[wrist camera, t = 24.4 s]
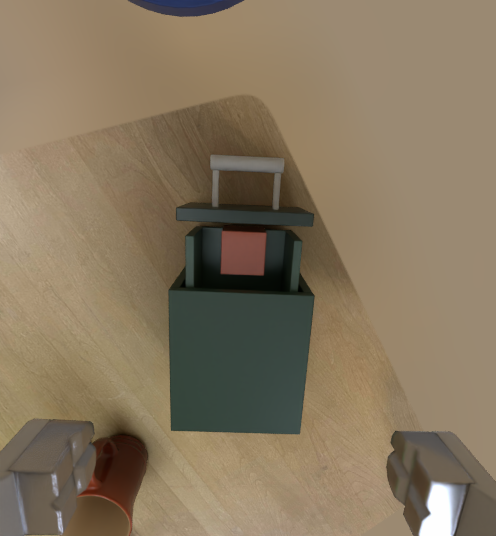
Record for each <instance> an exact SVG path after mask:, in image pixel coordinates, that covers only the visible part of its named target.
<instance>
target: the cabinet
mask: <svg viewBox="0 0 496 536" xmlns="http://www.w3.org/2000/svg"><path fill="white" fill-rule="evenodd" d="M168 293H169V349H170V405H171V431H200V432H235V433H270V434H300V429H301V419H302V410H303V400H304V391H305V382H306V372H307V363H308V353H309V344H310V334H311V325H312V315H313V306H314V294H313V293H312V291H311V290H310V288H309V286H308V285H307V283H306V282H305V280H304V278H303V277H302V275H301V274H300V273H299V284H298V292H278V291H253V290H228V289H203V288H186V266H185V267H184V269H183V270H182V272H181V273H180V275H179V276H178V277H177V279H176V280H175V282H174V283H173V284H172V286H171V287H170V289H169V290H168Z"/></svg>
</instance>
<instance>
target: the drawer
mask: <svg viewBox="0 0 496 536" xmlns="http://www.w3.org/2000/svg"><path fill="white" fill-rule="evenodd" d="M210 168H211V170H213V177H212V203H193V202H190V203H188V204H185V205H182V206H179V207H177V208H176V220H177V221H197V222H219V223H241V224H264V225H286V226H308V227H312V226H313V220H314V214H313V213H311V212H308V211H306V210H304V209H301V208H299V207H279V195H280V181H281V173H283V171H284V158H270V157H250V156H231V155H211V157H210ZM219 170H225V171H245V172H266V173H274V187H273V202H272V206H257V205H236V204H218V203H219ZM222 230H223V227H210V226H196V227H195V228H194V229H193V230H192V231H190V232H189V233H188V234H187V235H186V236H185V254H186V288H203V289H228V290H253V291H278V292H298V284H299V273H300V262H301V251H302V240H301V239H300V238H299V237H298V236H297V235H296V234H295V233H293V232H292V231H291V230H277V229H265V231H266V233H267V236H266V252H265V268H264V276H259V275H235V274H221V238H222Z"/></svg>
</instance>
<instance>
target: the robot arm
mask: <svg viewBox="0 0 496 536" xmlns="http://www.w3.org/2000/svg"><path fill="white" fill-rule="evenodd" d="M94 434H95V433H94V426H93V423H92V422H90V421H76V420H58V419H53V420H50V419H32V420H30V421H28V422H27V423H26V424H25V425H24V426H23V427H22V429H21V430H20V431H19V432H18V433H17V434H16V435H15V436H14V437H13V438H12V439H11V441H10V442H9V443H8V444H7V445H6V446H5V447H4V448H3V449H2V450H1V451H0V536H24V535H63V533H64V531H65V529H66V527H67V525H68V523H69V521H70V520H71V518H72V516H73V514H74V512H75V510H76V508H77V496H78V495H79V494H81V493H82V492H83V491H84V490H86V489H87V487H88V485H89V483H90V481H91V479H92V475H93V472H94V469H95V465H96V448H95V446H94V445H93V444H92V443H91V442H90V441H91V439H92V438H93V436H94ZM391 445H392V446H393V448H394V451H393V452H392V453H391V454H390V455H389V456H388V459H387V466H386V469H387V478H388V482H389V485H390V488H391V490H392V492H393V494H394V497H395V498H396V499H398V500H399V501H400V502H401V503H402V504H403V505H405V508H404V513H403V515H404V517H405V519H406V521H407V523H408V525H409V527H410V530H411V532H412V534H413V536H496V481H495V480H494V479H493V478H492V477H491V476H490V474H489V473H488V472H487V471H486V470H485V468H484V467H483V466H482V465H481V464H480V463H479V461H478V460H477V459H476V458H475V457H474V456H473V455H472V453H471V452H470V451H469V450H468V449H467V447H466V446H465V445H464V444H463V443H462V442H461V440H460V439H459V438H458V437H457V436H456V435H455V434H454V433H452V432H439V431H437V432H436V431H432V432H421V431H395V432H394V433H393V435H392V438H391Z"/></svg>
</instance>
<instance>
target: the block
mask: <svg viewBox="0 0 496 536" xmlns="http://www.w3.org/2000/svg"><path fill="white" fill-rule="evenodd" d="M266 236H267V233H266V231H265V229H264V227H257V226H235V225H224V227H223V230H222V238H221V274H235V275H259V276H264V268H265V252H266Z"/></svg>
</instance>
